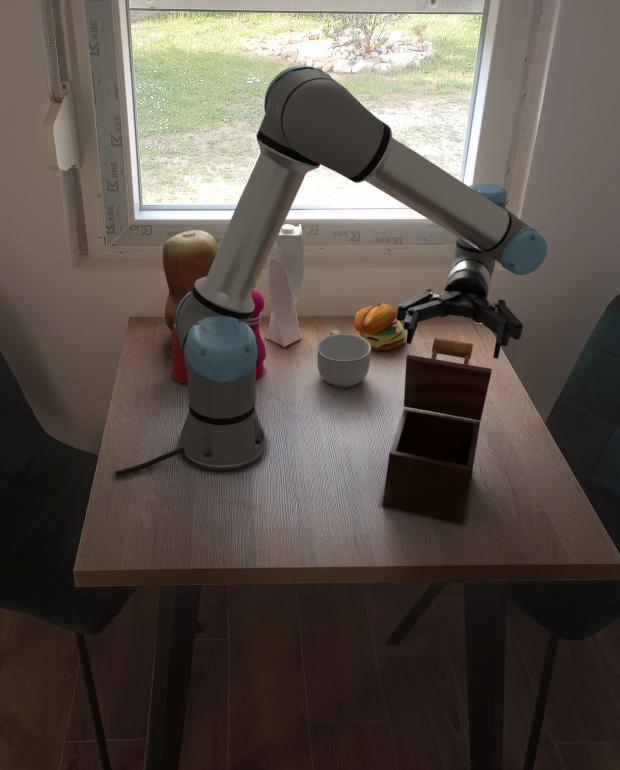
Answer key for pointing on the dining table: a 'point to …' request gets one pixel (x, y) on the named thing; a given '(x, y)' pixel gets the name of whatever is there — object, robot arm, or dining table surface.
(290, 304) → the skyscraper
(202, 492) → the dining table surface
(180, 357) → the beer can
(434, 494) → the caddy
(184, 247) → the butternut squash
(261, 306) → the pepper mill
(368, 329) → the cheeseburger
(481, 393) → the lid
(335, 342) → the teacup
